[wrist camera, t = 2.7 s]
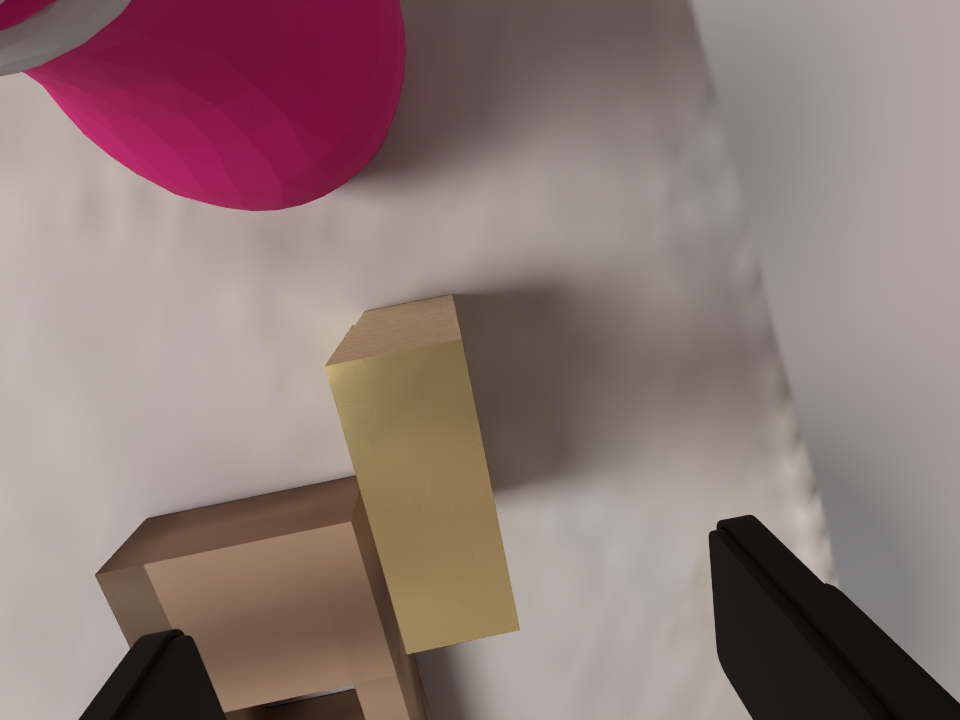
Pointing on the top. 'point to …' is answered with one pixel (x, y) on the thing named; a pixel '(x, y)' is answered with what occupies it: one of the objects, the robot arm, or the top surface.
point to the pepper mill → (219, 88)
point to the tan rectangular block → (423, 472)
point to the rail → (274, 603)
